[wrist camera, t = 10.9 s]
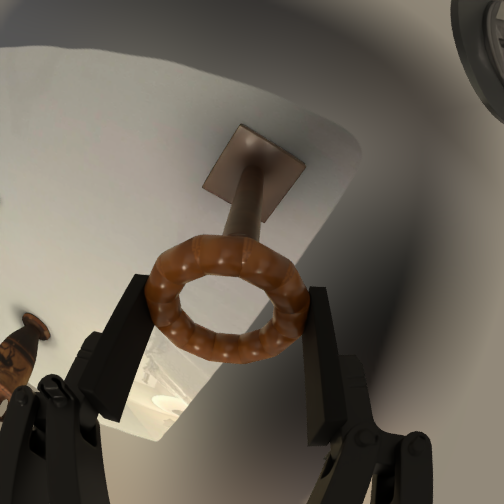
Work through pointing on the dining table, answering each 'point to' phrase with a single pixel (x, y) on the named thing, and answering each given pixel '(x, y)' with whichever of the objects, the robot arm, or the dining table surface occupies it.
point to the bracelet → (235, 265)
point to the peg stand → (252, 180)
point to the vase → (19, 356)
